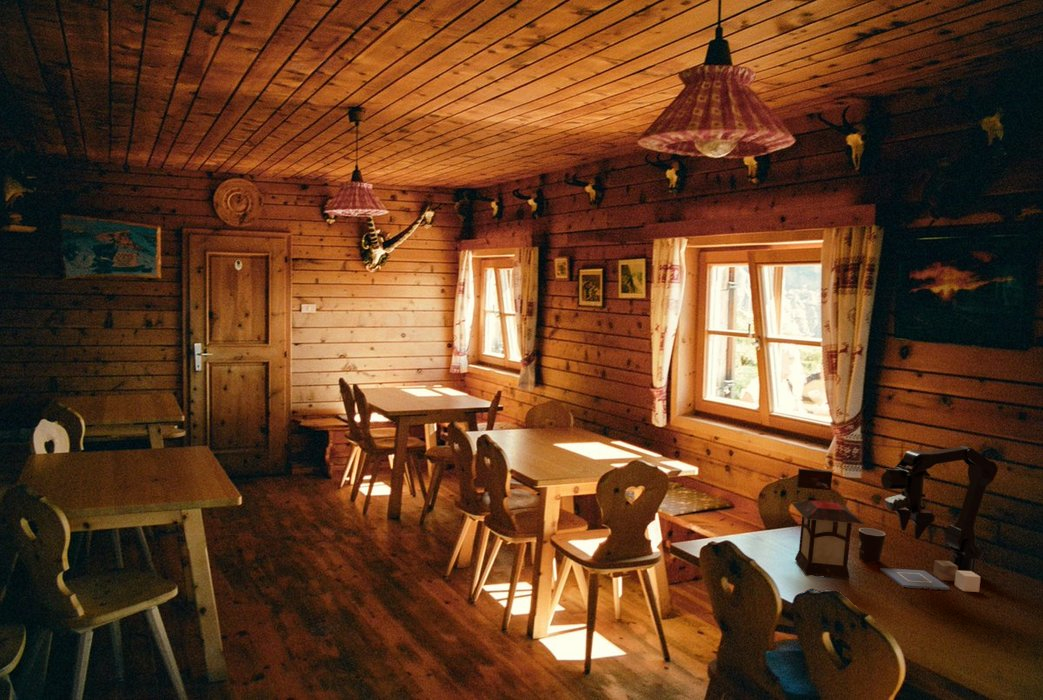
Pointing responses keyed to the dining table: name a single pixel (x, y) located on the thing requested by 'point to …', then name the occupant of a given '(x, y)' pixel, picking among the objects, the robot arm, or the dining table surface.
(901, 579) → the board
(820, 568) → the lantern
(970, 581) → the cream block
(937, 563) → the walnut block
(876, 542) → the coffee mug
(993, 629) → the dining table surface
